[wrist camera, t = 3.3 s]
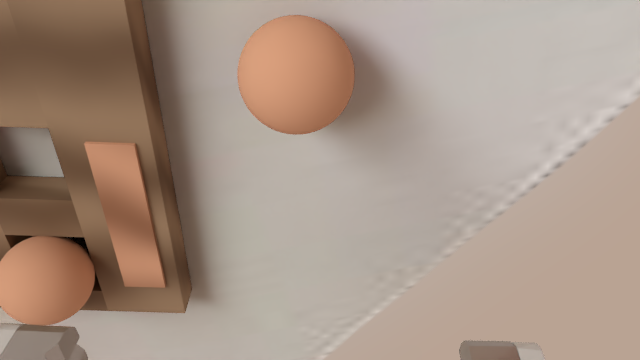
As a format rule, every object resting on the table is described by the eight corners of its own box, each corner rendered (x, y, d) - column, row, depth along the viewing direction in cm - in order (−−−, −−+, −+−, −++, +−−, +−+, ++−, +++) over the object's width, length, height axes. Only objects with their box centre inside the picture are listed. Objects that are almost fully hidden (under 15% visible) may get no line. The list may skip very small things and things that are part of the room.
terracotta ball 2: (349, 102, 26) (352, 158, 22) (248, 99, 26) (233, 154, 22) (356, 0, 23) (361, 44, 19) (242, -3, 23) (223, 39, 19)
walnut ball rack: (191, 288, 34) (184, 315, 32) (8, 283, 34) (-9, 309, 32) (50, -516, 14) (11, -560, 13) (-380, -531, 14) (-480, -577, 13)
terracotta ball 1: (115, 278, 33) (84, 345, 29) (35, 275, 33) (-7, 343, 29) (97, 217, 30) (60, 283, 26) (9, 214, 30) (-42, 280, 26)
